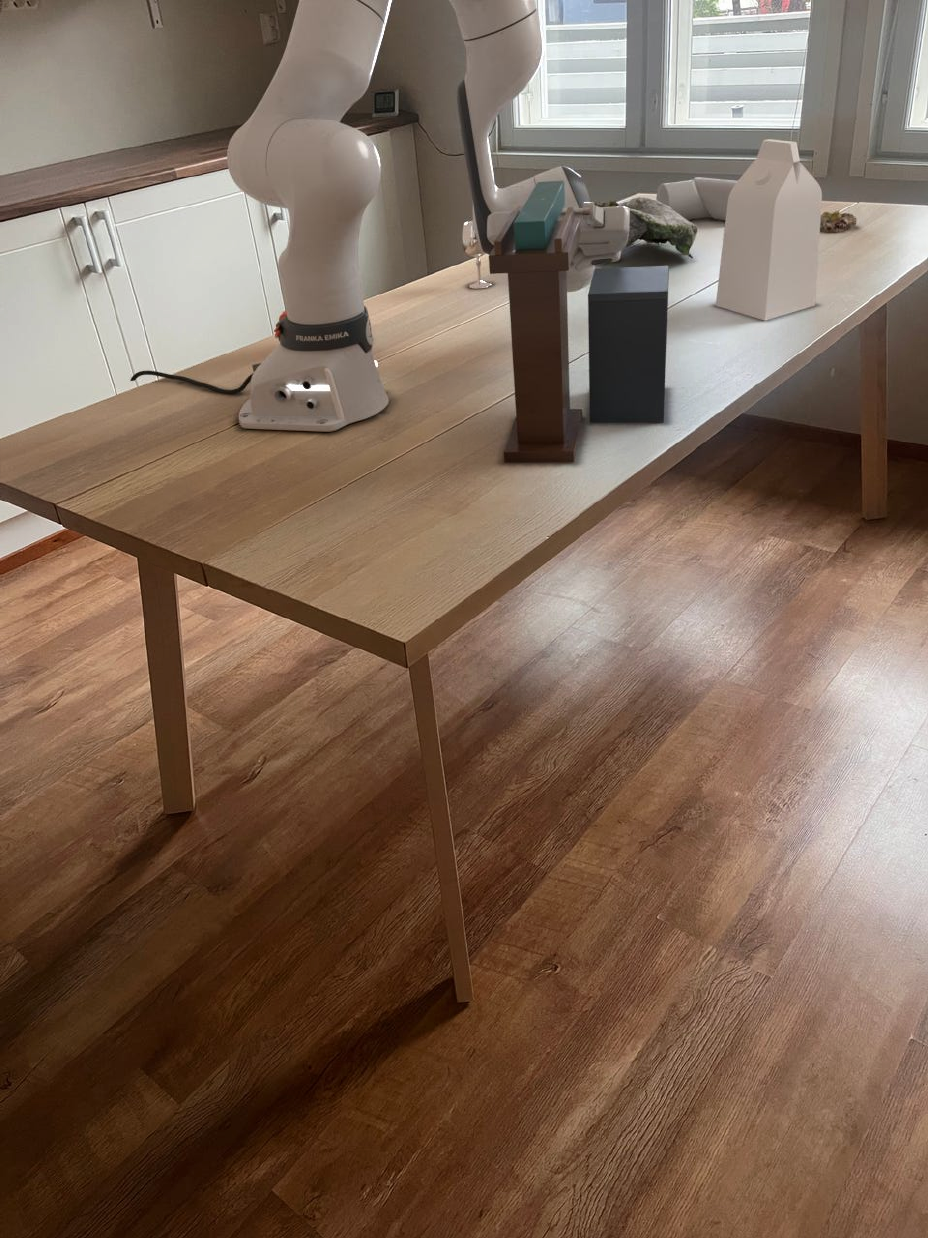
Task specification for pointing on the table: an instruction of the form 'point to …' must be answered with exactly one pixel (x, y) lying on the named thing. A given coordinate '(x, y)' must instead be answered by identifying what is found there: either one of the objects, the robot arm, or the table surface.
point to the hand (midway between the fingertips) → (553, 209)
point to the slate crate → (627, 344)
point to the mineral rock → (837, 221)
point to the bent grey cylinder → (697, 197)
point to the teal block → (539, 216)
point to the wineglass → (473, 251)
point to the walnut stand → (540, 343)
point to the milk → (771, 236)
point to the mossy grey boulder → (657, 224)
